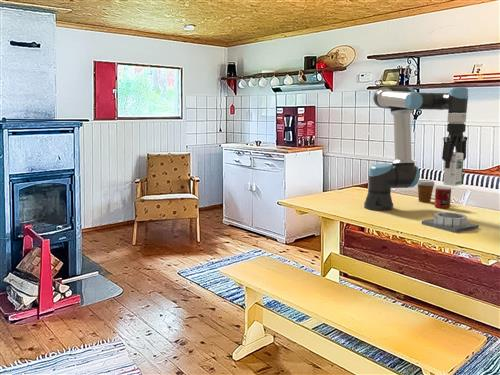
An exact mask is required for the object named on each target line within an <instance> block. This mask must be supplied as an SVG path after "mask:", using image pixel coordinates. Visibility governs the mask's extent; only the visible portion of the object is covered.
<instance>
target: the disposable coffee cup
mask: <svg viewBox="0 0 500 375" xmlns="http://www.w3.org/2000/svg"><path fill="white" fill-rule="evenodd" d="M416 185H417V192H418V194H417V195H418V202H420V203H425V204H427V203H431V200H432V195H433V191H434V187H435V181H434V180H432V179H431V180H430V179H419V181H418V183H417V184H416Z"/></svg>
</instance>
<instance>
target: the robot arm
mask: <svg viewBox="0 0 500 375" xmlns="http://www.w3.org/2000/svg"><path fill="white" fill-rule="evenodd" d="M372 99H373V102H374V104H375V106H377V108H381V109H387V110H390V114H391V115H392V116H393V141H394V142H393V143H394V145H393V147H394V161H393V162H392V163H378V164H372V165H371V166H370V167H369V171H368V183H367V184H368V187H367V195H366V198H365V200H364V204H363V207H364V209H368V210H372V211H392V210H393V209H394V203H393V200H392V196H391V195H392V194H391V192H392V189H409V188H414V187H415V186H416V185H418V184H417V183H418V181H419V180H420V177H421V176H420V175H421V171H420V169H419V167H418V166H417V165H415V164H416V162H415V161H414V160H413V159H412V155H413V154H412V126H411V125H412V124H411V114H412V113H413V112H414V110H415V111H416V110H433V111H434V110H436V111H443V110H445V111H446V110H447V119H446V121H447V124H446V132H447V133H448V134H447V135H448V136H444V137H443V139H442V140H443V146H442V155H441V159H442V161H444V164H445V175H446V176H451V172H452V161H451V158H452V155H453V152H459V153H464V155H463V161H465V160H466V159H467V141H468V136H464V133H465V132H466V128H467V127H466V122H467V111H468V104H469V103H468V100H469V88H467V87H461V86H460V87H459V86H457V87H456V86H455V87H450V89H449V92H419V91H417V92H416V90H415V89H414V88H413V87H411V86H382V87H380V88H378V89H377V90H376V91H375V92H374V94H373V98H372Z"/></svg>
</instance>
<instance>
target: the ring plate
mask: <svg viewBox="0 0 500 375" xmlns="http://www.w3.org/2000/svg"><path fill="white" fill-rule="evenodd" d="M421 225H424V226H429V227H433V228H436V229H440V230H443V231H447V232H452V233H461V232H466V231H471V230H478V229H479V228H480V225H479V224H475V223H471V222H468V216H467V215H465V214H463V213H458V212H451V211H449V212H448V211H438V212H435V213H434V214H433V218H430V219H425V220H421Z"/></svg>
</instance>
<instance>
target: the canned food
mask: <svg viewBox="0 0 500 375" xmlns="http://www.w3.org/2000/svg"><path fill="white" fill-rule="evenodd" d="M434 193H435V194H434V195H435V196H434V208H435V209H441V210H449V209H450V207H451V197H452V194H451V193H452V187H449V186H435V192H434Z"/></svg>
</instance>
